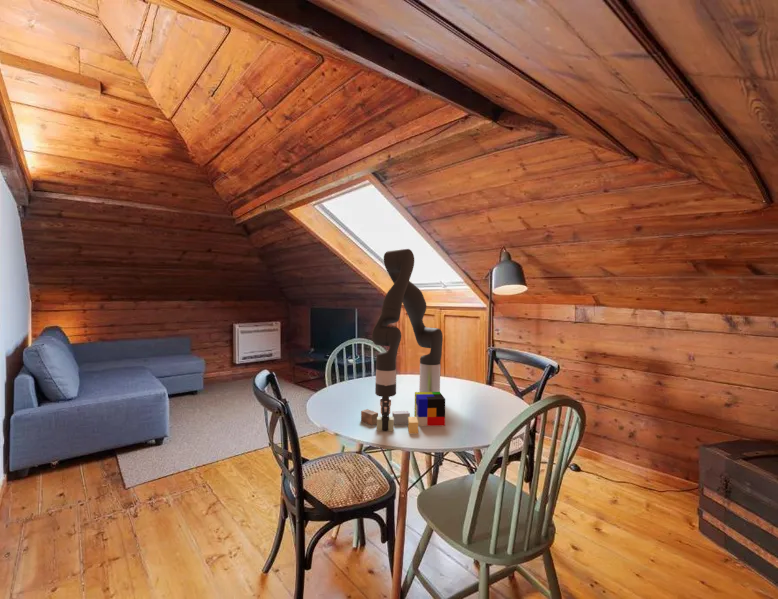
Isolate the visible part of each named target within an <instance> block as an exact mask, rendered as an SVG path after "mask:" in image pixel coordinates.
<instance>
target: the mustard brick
mask: <svg viewBox="0 0 778 599" xmlns="http://www.w3.org/2000/svg"><path fill="white" fill-rule="evenodd" d="M407 429H408V434H419V426H418V420H417V417H414V416H410V417H408V424H407Z"/></svg>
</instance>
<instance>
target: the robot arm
mask: <svg viewBox="0 0 778 599" xmlns="http://www.w3.org/2000/svg"><path fill="white" fill-rule="evenodd" d="M383 264H384V268H385V270H386V271H387V274H388V276H389V278H390V279H391V281H392V282H393V284H392V285H391V288H389V289H388V291H387V292H386V294H385V296H384V299H383V302H382V307H381V312H380V315H379V317H378V319H377V322H376V324H375V325H374V327H373V330H372V333H371V340H372V343H373V344H374V345H376V346H380V347H389V349H388V350H387V351H381V352H378V353H377V355H376V362H375V363H376V367H375V368H376V370H375V383H374V384H375V388H374V389H375V390H374V392H375V395H376V396H377V397H381V398H380V400H379V407H380V415H381V417H382V430H383V431H382V432H388V421H389V417H390V414H391V407H392V398H390V397H394V396H396V394H397V366H396V364H397V354H398V350H399V347H400V343H401V340H402V332H401V330H400V328H398V327H397V326H388V325H391V324H395V323H398V322H399V320H400V317H401V314H402V313H401V311H402V306H403V308H404V310H405V312H406V315H407V317H408V318H409V322H410V323H411V327H412V330H413V332H414V333H413V334H414V338H415V340H416V343H417V345H418V346H420V347H421V348H425V349H430V351H429V353H427V354H424V355H422V356H420V357H419V391H418V392H440V393H441V360H442V354H443V352H442V351H443V332H442V329H440V328H436V327H428V326H425V323H424V320H423V319H424V316H425V314H426V311H427V302H426V299H425V297H424V294H423V292H422V291H421V288H419V287H418V286H416V285H415V284H414V283H413V282H412V281H410V280H411V276H412V273H413V270H414V268H415V267H414V266H415V255H414V253H413V250H411V249H410V248H399V249H392V250H387V251H385V252H384V255H383Z"/></svg>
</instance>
